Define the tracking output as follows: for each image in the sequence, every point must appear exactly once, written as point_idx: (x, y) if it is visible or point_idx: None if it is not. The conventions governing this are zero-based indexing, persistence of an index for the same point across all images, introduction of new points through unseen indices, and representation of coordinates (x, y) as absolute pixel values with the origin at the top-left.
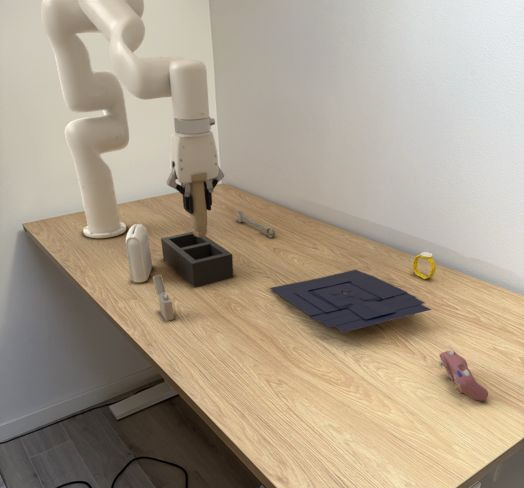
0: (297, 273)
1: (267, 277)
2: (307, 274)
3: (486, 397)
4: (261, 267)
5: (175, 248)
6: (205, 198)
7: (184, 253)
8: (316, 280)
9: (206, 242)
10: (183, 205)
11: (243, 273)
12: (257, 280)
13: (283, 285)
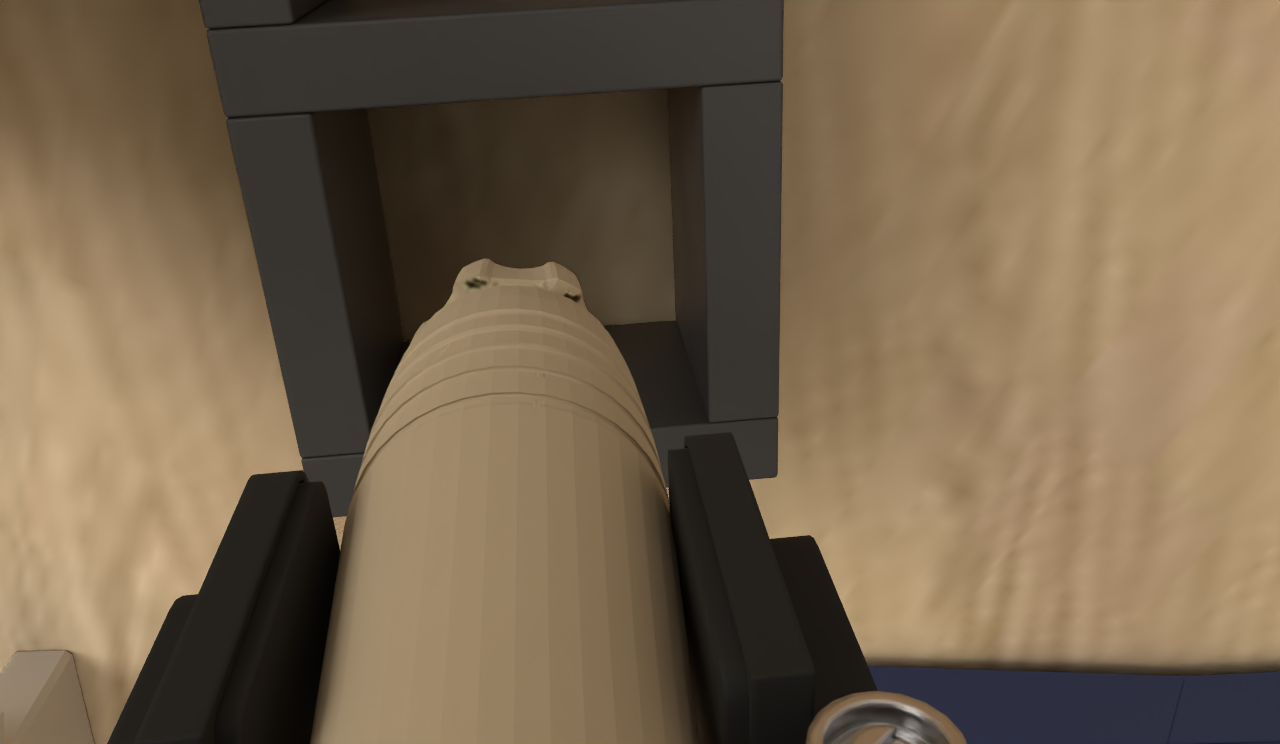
0: (1180, 521)
1: (957, 487)
2: (1220, 562)
3: None
4: (1039, 302)
5: (226, 8)
6: (705, 725)
7: (303, 230)
8: (1172, 702)
9: (682, 17)
10: (164, 624)
11: (841, 340)
12: (863, 499)
13: (951, 673)
